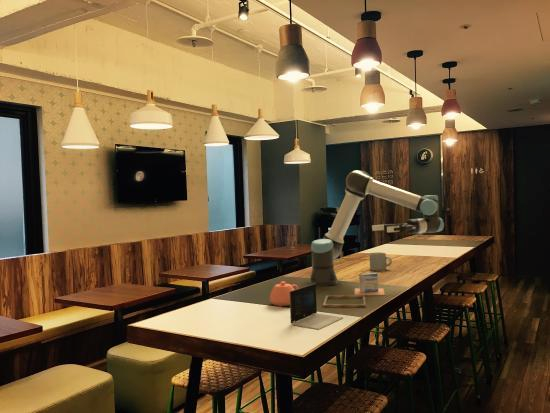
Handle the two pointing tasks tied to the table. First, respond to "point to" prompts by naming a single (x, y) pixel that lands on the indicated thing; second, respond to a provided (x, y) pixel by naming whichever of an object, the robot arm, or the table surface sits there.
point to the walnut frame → (343, 304)
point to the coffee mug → (379, 261)
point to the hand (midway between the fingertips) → (379, 228)
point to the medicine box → (368, 282)
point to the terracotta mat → (379, 292)
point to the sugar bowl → (281, 294)
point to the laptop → (308, 309)
